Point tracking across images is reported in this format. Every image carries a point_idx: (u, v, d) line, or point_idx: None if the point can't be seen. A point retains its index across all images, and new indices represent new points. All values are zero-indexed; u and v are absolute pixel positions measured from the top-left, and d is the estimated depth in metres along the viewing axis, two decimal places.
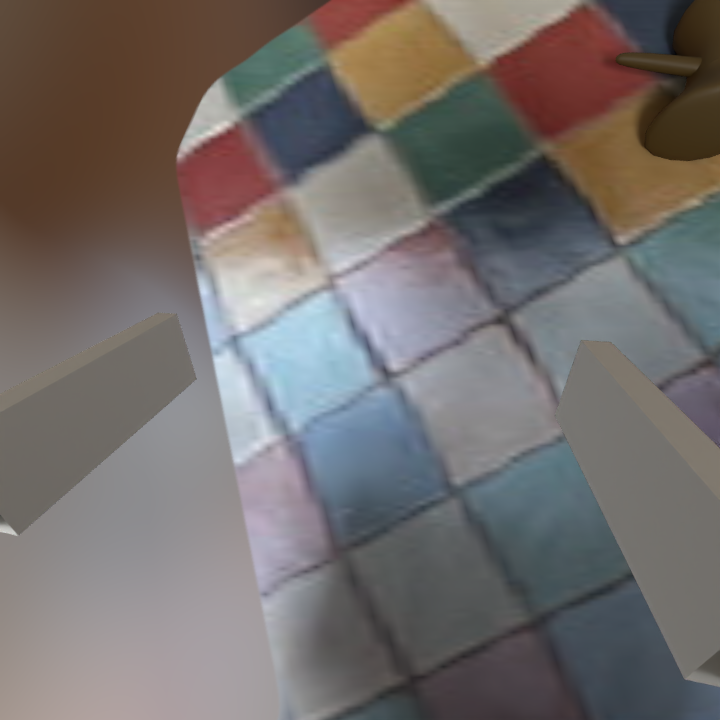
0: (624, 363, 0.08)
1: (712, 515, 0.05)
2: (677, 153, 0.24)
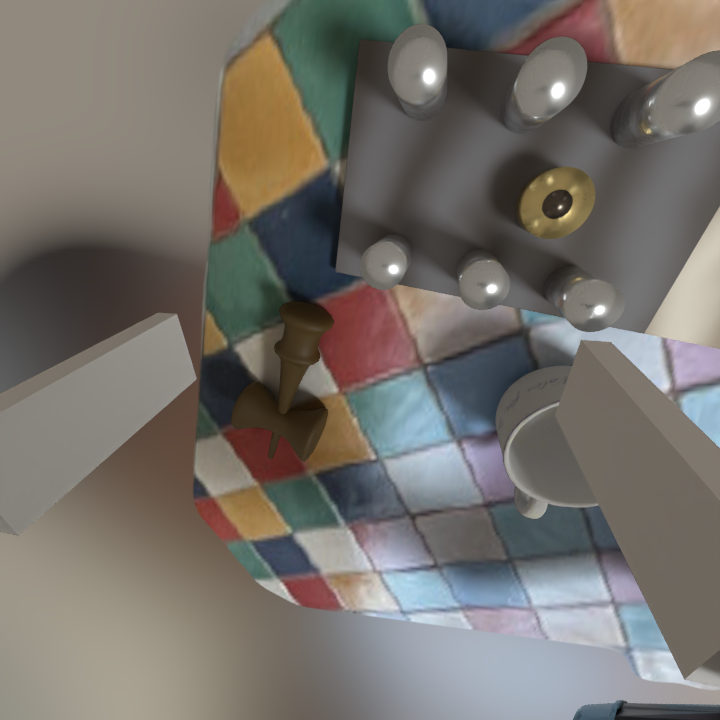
0: (624, 363, 0.08)
1: (712, 515, 0.05)
2: (324, 426, 0.39)
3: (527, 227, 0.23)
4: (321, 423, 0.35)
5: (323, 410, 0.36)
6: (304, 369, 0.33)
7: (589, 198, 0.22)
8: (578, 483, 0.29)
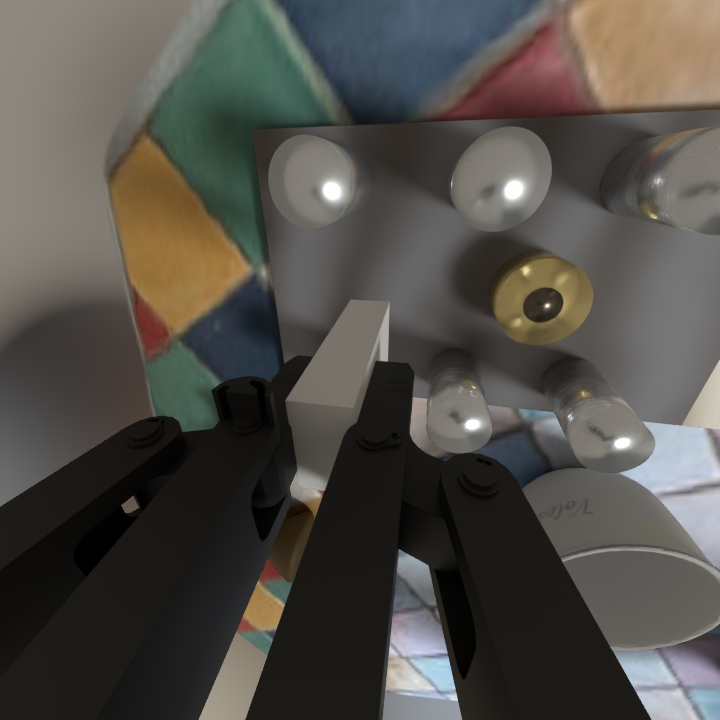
0: (379, 313, 0.11)
1: None
2: None
3: (510, 335, 0.18)
4: (303, 538, 0.30)
5: (304, 519, 0.31)
6: None
7: (585, 291, 0.16)
8: (621, 609, 0.23)
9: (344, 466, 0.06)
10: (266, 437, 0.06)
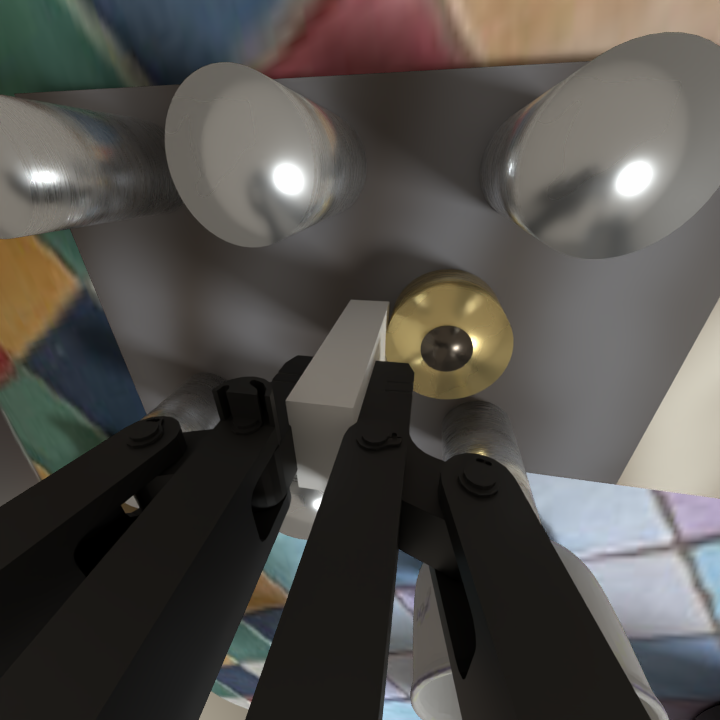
0: (379, 313, 0.11)
1: None
2: None
3: None
4: None
5: None
6: None
7: (501, 331, 0.11)
8: None
9: (344, 466, 0.06)
10: (266, 437, 0.06)
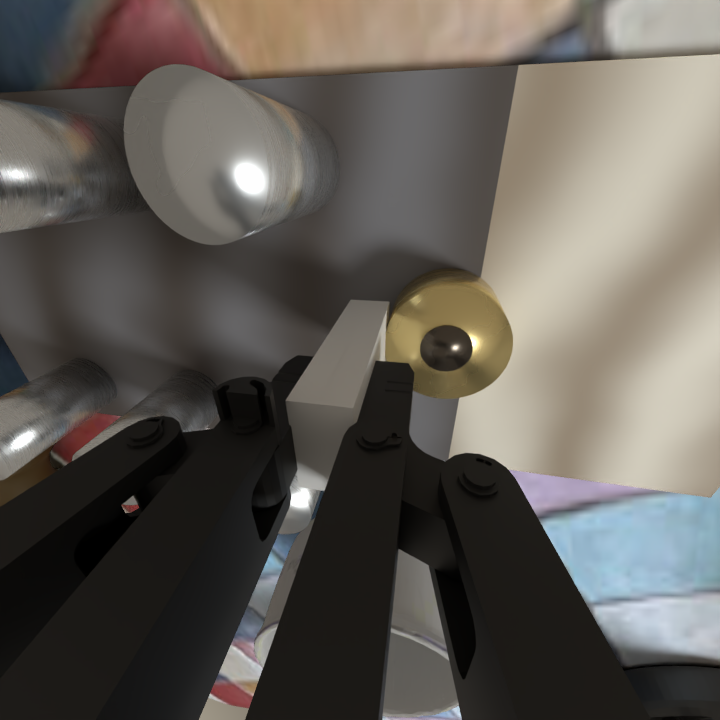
0: (379, 313, 0.11)
1: None
2: None
3: None
4: None
5: None
6: None
7: (500, 330, 0.11)
8: (405, 664, 0.20)
9: (344, 466, 0.06)
10: (266, 437, 0.06)
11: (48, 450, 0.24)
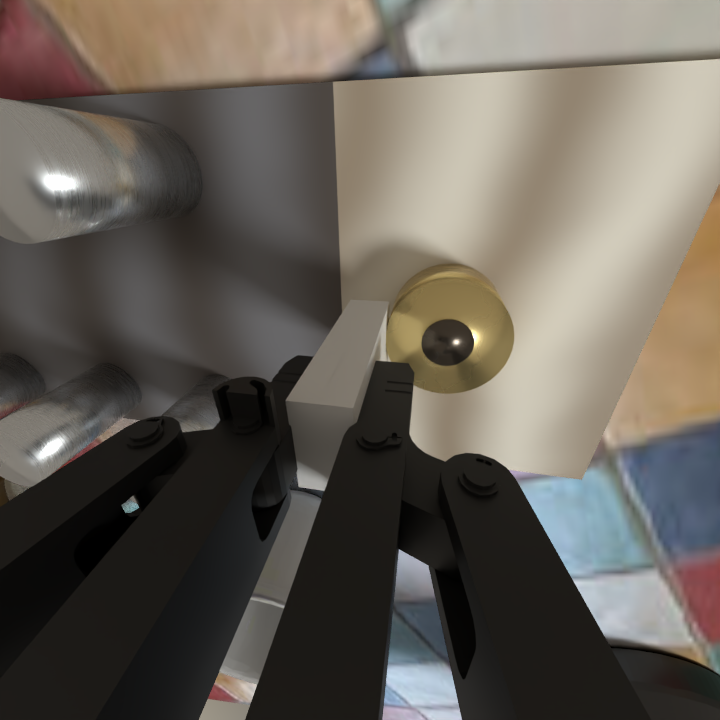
0: (379, 313, 0.11)
1: None
2: None
3: (416, 384, 0.13)
4: None
5: None
6: None
7: (500, 319, 0.11)
8: None
9: (344, 466, 0.06)
10: (266, 438, 0.06)
11: None
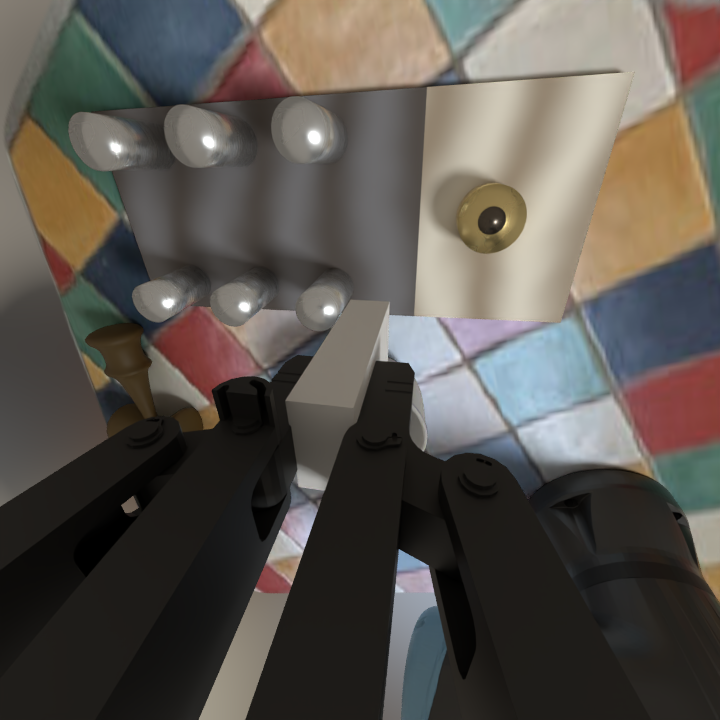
0: (379, 313, 0.11)
1: None
2: (199, 423, 0.42)
3: (473, 249, 0.24)
4: (179, 421, 0.39)
5: (182, 409, 0.40)
6: (137, 379, 0.37)
7: (519, 204, 0.22)
8: None
9: (344, 466, 0.06)
10: (266, 437, 0.06)
11: (141, 332, 0.36)
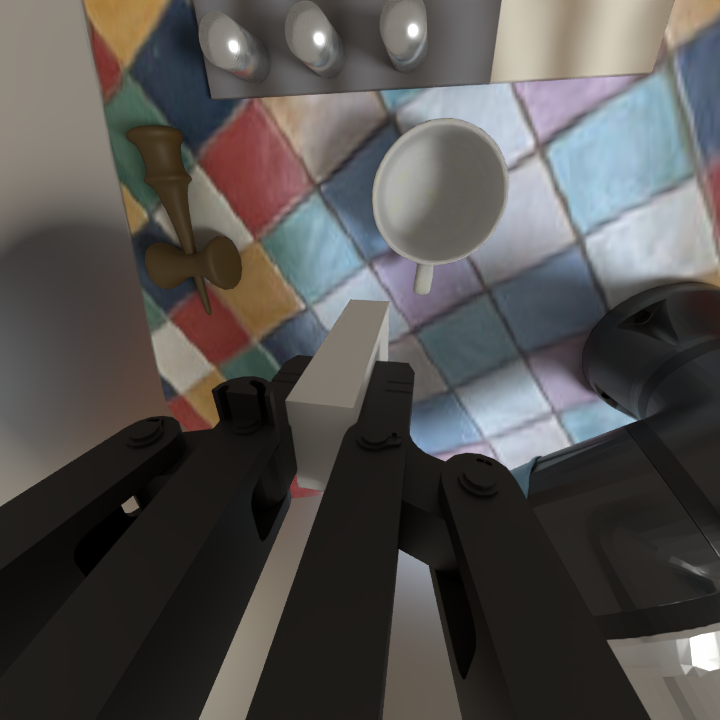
0: (379, 313, 0.11)
1: None
2: (238, 260, 0.40)
3: None
4: (220, 243, 0.37)
5: None
6: (177, 190, 0.35)
7: None
8: (460, 247, 0.31)
9: (344, 466, 0.06)
10: (265, 438, 0.06)
11: (182, 134, 0.34)
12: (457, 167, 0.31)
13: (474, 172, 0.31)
